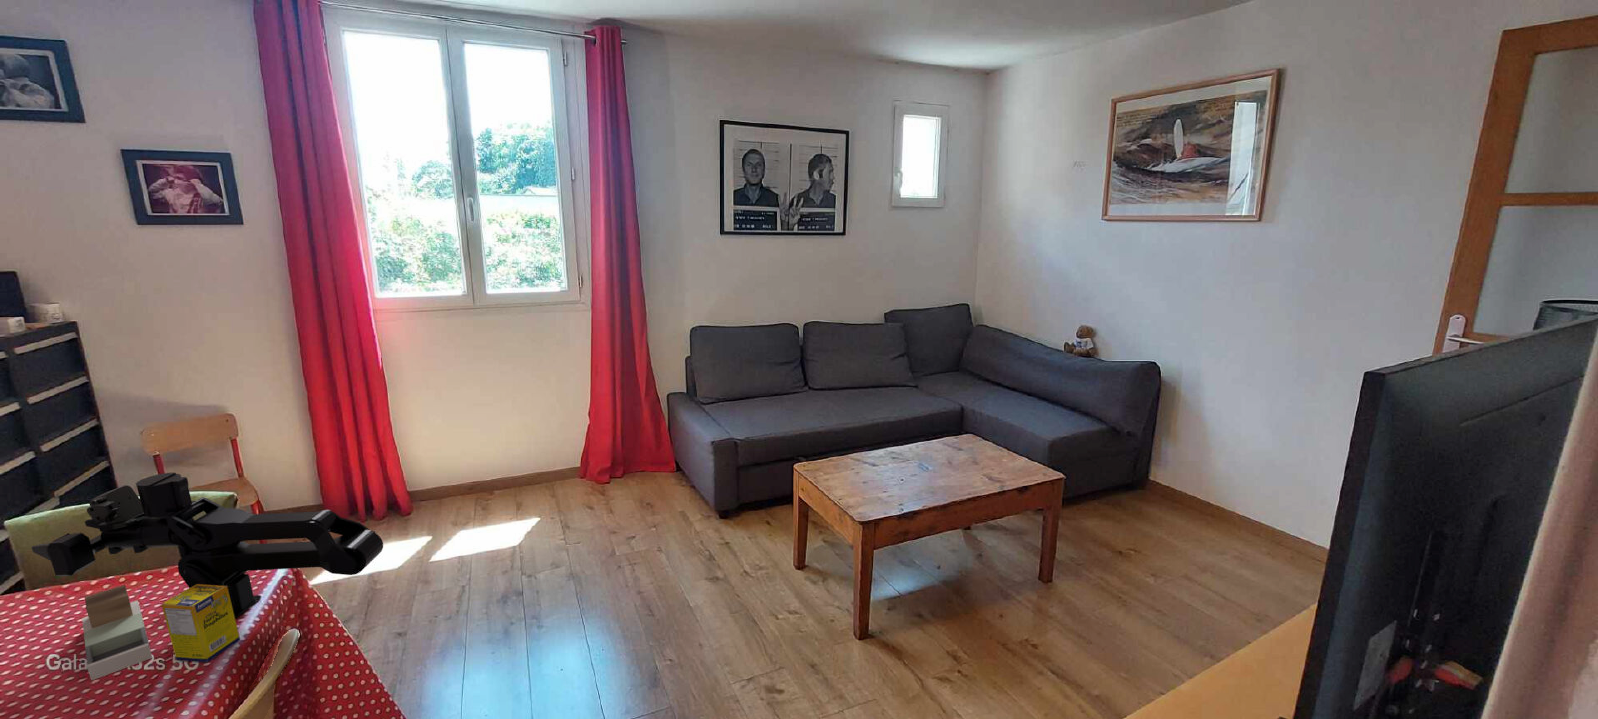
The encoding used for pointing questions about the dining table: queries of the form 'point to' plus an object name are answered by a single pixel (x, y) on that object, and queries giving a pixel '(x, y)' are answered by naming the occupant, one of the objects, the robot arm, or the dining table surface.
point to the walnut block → (108, 606)
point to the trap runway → (117, 652)
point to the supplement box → (201, 622)
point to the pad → (114, 634)
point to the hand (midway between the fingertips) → (60, 535)
